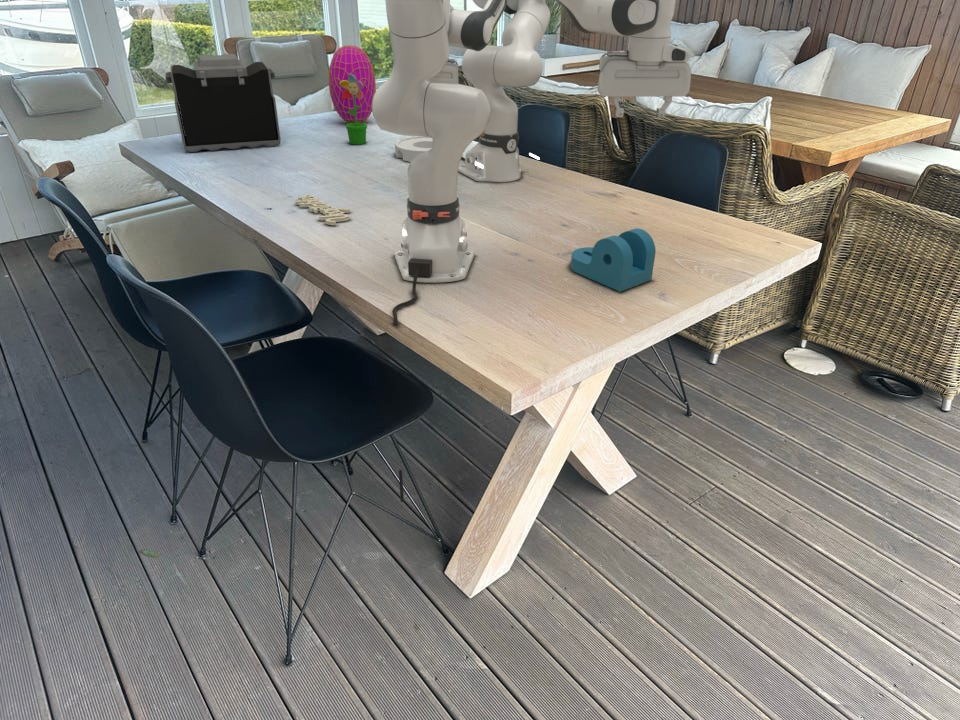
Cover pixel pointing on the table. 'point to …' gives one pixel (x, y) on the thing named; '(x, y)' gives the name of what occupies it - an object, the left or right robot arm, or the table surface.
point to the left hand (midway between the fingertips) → (639, 117)
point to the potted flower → (354, 129)
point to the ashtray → (412, 147)
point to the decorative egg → (340, 66)
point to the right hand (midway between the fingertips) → (425, 108)
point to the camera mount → (617, 260)
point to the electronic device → (225, 104)
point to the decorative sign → (323, 209)
